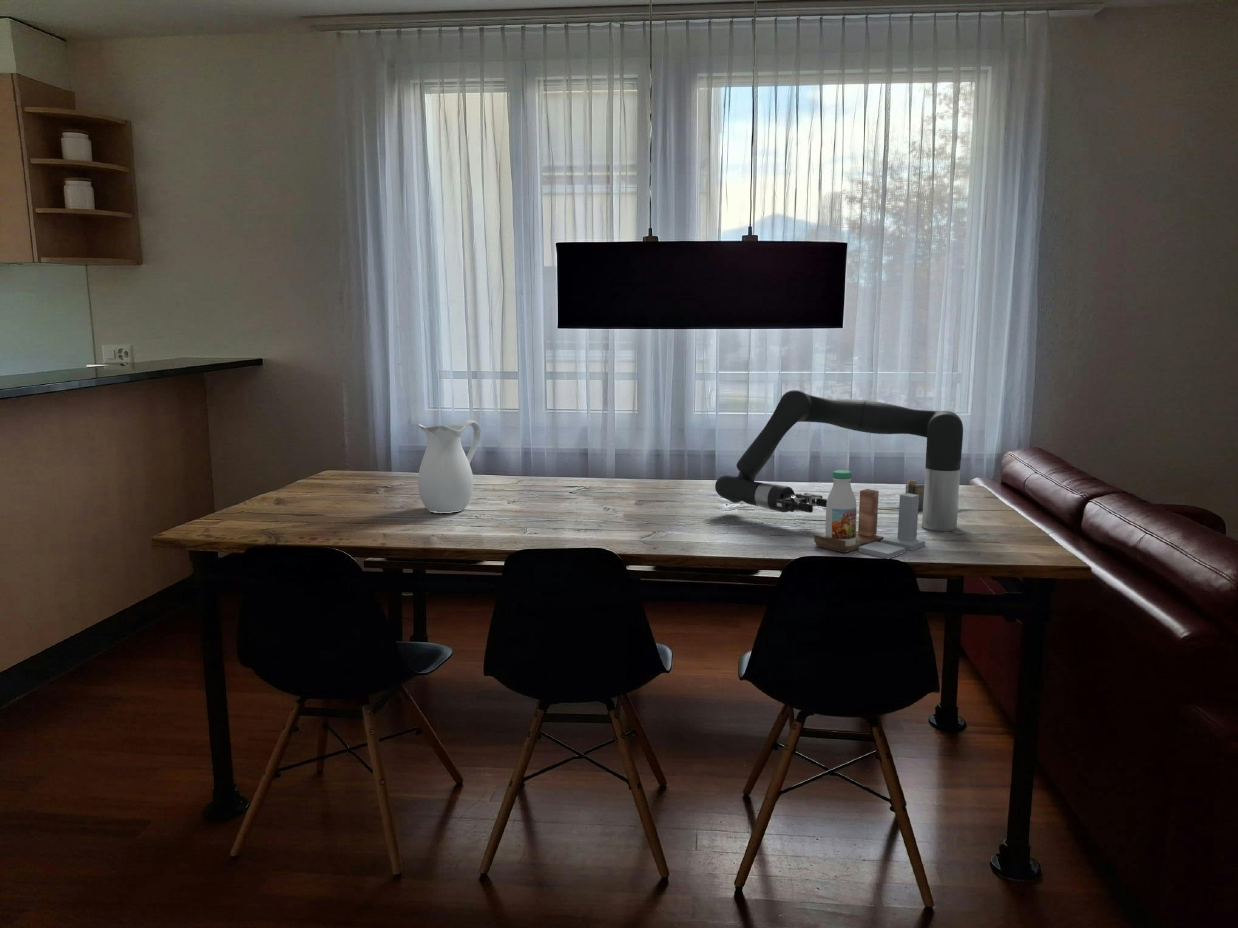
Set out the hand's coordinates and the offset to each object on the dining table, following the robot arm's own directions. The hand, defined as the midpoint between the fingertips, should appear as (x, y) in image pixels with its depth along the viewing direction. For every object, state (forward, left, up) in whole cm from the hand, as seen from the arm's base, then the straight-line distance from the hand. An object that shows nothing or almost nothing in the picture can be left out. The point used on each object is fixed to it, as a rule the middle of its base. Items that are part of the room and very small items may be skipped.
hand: (821, 506), depth 232 cm
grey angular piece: (-2, +21, -8) cm, 23 cm away
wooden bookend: (+2, +11, -8) cm, 14 cm away
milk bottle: (+7, +11, -8) cm, 15 cm away
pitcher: (+58, -97, -8) cm, 113 cm away
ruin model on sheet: (-53, +2, -9) cm, 53 cm away
